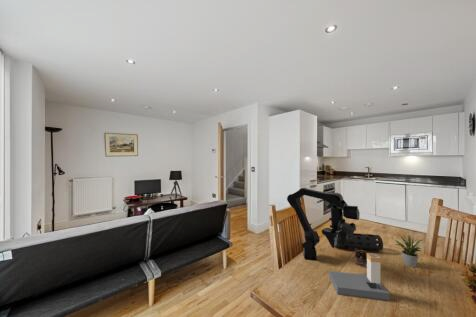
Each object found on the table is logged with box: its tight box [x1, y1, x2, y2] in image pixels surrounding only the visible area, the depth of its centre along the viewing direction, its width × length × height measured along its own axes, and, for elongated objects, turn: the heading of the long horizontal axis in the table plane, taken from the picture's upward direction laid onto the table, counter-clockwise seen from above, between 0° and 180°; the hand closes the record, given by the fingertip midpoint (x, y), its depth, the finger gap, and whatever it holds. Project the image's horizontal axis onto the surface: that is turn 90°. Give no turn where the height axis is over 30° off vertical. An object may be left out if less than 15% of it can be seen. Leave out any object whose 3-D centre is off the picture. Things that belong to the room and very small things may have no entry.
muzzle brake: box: [334, 231, 384, 252], centre depth 122 cm, size 10×28×10 cm, turn 78°
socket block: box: [328, 270, 390, 301], centre depth 85 cm, size 20×12×3 cm, turn 79°
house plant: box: [392, 234, 425, 268], centre depth 104 cm, size 14×14×16 cm
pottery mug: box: [353, 248, 369, 266], centre depth 106 cm, size 12×10×8 cm
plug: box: [366, 252, 382, 284], centre depth 82 cm, size 4×4×11 cm
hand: (338, 245), depth 100 cm, fingers open, 9 cm apart
